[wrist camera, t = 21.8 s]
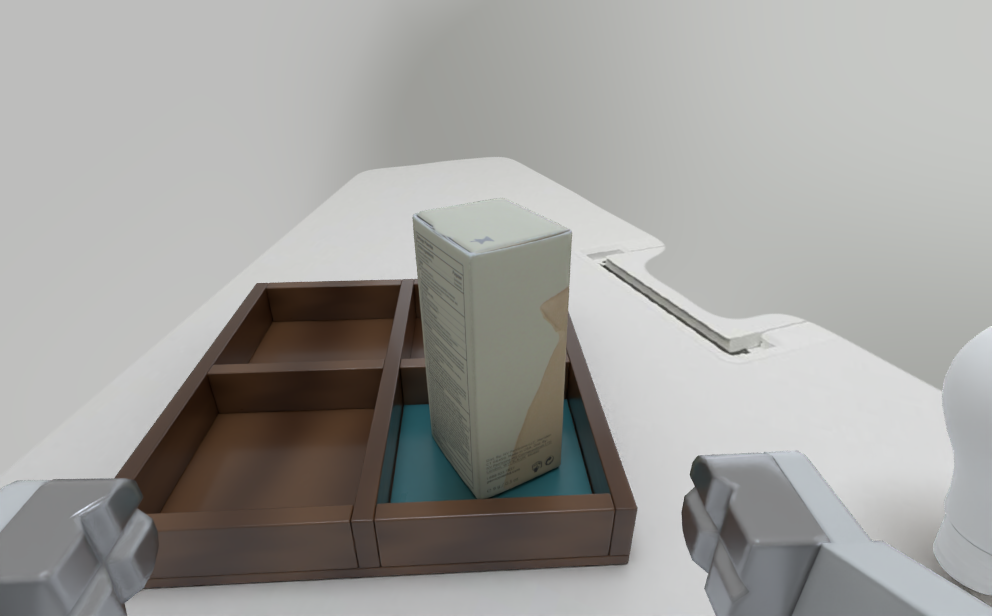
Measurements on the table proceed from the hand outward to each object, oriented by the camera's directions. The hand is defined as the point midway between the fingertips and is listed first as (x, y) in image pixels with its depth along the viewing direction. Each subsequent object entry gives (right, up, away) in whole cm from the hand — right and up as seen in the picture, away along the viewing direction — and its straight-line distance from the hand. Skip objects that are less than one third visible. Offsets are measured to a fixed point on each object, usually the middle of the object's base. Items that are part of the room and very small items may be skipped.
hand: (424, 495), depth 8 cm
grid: (-4, -3, +21) cm, 21 cm away
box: (+1, -4, +17) cm, 18 cm away
